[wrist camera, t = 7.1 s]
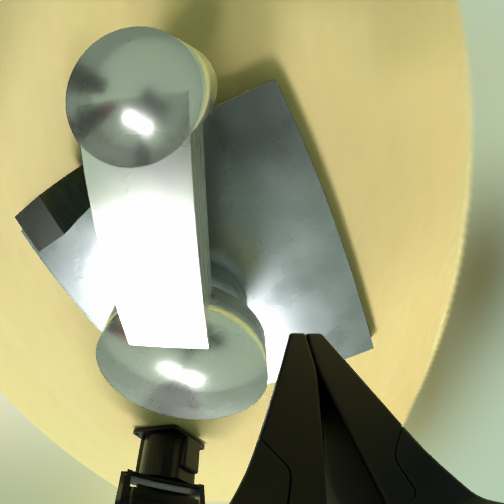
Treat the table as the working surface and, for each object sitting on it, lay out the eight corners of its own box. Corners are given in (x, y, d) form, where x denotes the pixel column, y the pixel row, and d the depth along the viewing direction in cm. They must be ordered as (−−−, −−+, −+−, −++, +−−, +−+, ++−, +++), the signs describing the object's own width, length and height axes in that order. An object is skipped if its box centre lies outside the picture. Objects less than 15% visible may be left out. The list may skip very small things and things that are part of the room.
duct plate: (178, 396, 27) (170, 451, 22) (7, 189, 16) (-49, 232, 11) (370, 339, 24) (391, 399, 18) (248, 29, 13) (250, 2, 7)
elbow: (261, 367, 21) (265, 427, 17) (136, 363, 21) (121, 418, 17) (273, 38, 11) (287, 18, 7) (74, 59, 11) (10, 62, 7)
